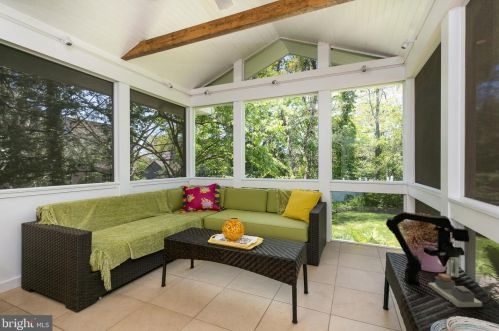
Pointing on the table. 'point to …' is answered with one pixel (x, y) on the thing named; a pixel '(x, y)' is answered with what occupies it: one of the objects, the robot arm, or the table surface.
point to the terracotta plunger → (444, 277)
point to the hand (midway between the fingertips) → (443, 266)
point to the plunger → (462, 289)
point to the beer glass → (453, 266)
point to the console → (454, 294)
